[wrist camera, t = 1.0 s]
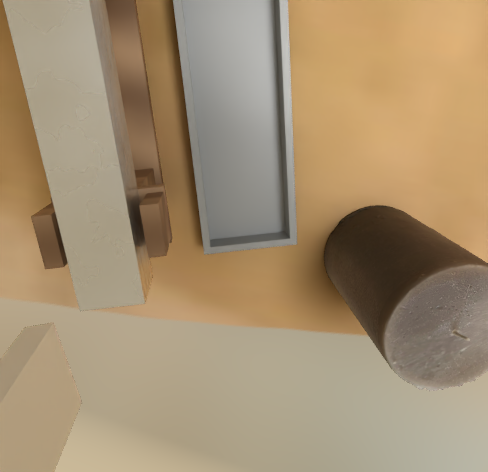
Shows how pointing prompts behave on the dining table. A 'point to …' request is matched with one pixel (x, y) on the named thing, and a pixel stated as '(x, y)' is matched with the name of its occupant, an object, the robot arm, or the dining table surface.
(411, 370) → the pillar candle
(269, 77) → the tray
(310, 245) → the dining table surface
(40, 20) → the rail
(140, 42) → the rack
